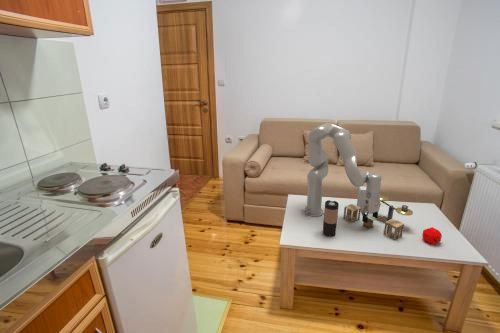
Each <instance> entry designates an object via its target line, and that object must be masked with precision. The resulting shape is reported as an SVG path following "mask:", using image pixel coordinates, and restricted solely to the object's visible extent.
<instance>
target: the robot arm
mask: <svg viewBox="0 0 500 333" xmlns="http://www.w3.org/2000/svg"><path fill="white" fill-rule="evenodd" d="M327 138H331V139H333V142H334V145H335V147H336V149H337V150H338V153H339V155H340V157H341V159H342V163H343V167H344V171H345V174H346V176H347V178H348V180H349V182H350V184H351V185H352V186H354V187H355V188H356V187H357V188H359V187H361V186H364V185H365V184H366V185H365V186H366V197H365V201H364V206H363V209H362V210H361V212H360V214H361V216H362V219H361V221H362V222H365V223H367V221H368V218H369V217H368V216H369V215H372V217H373V218H374V219H378V218H379V211H380V208H381V206H382V204H381V201H380V194H381V187H382V186H381V185H382V177H383V176H382V175H381V174H380V173H378V172H371V171H367V170H363V169H359V168H358V165H357V164H358V162H357V157H358V154H357V151H356V149H355V147H354V146H353V144H352V141H351V139H352V134H351V132H350V130H348V129H345V128H344V127H341V126H338V125H336V124H334V123H330V122H329V123H328V122H326V123H323V124H320V125H318V126H316V127H314V128H313V129H311V130H310V132H309V133H308V135H307V145H308V146H307V148H308V149H307V151H308V154H307V156H308V164H309V165H310V166H311V167H313V168H312V169H310V170H309V171H308V174H307V175H306V178H307V179H306V180H307V195H306V196H307V198H306V199H307V200H306V206H305V208H304V209H301V213H302V214H303V213H304V214H306V215H307V216H309V217H312V218H313V217H320V216H322V215H324V210H323V209H322V200H323V180H324V179H325V178H326V177H327V176H328V174H329V156H328V153H327V151H326V150H325V149H323V143H322V141H323V140H325V139H327Z"/></svg>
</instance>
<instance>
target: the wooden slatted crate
mask: <svg viewBox="0 0 500 333" xmlns="http://www.w3.org/2000/svg"><path fill="white" fill-rule="evenodd" d="M350 218H351V223H354V222H357V221H360V218H361V208H360V207H358V206H357V204H353V203H351V204H347V205H346V206H344V211H343V219H346V221H348V222H349V221H350Z"/></svg>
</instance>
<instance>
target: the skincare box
mask: <svg viewBox="0 0 500 333" xmlns="http://www.w3.org/2000/svg"><path fill="white" fill-rule="evenodd" d="M366 186H367V185H365V186H364V185H363V186H361V187H358V191H357V200H356V206H358V207H360V208H361V210H362V209H363V206H364V201H365V197H366Z"/></svg>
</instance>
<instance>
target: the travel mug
mask: <svg viewBox="0 0 500 333" xmlns="http://www.w3.org/2000/svg"><path fill="white" fill-rule="evenodd" d="M339 206H340V205H339V202H338V201H336V200H326V201H325V202H324V210H323V220H322V221H323V222H322V223H323V224H322V234H323V235H324V236H325V237H329V238H332V237H335V235H336V232H337V223H338V218H339V217H338V216H339Z"/></svg>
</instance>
